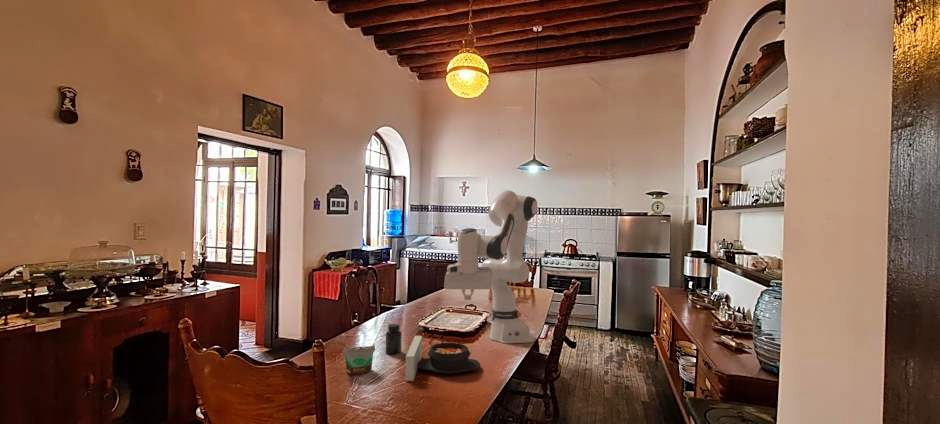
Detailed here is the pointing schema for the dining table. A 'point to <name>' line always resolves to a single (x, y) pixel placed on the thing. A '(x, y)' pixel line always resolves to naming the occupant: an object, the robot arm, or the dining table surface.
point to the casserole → (449, 359)
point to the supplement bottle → (393, 340)
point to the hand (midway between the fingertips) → (467, 299)
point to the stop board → (413, 358)
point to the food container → (359, 360)
